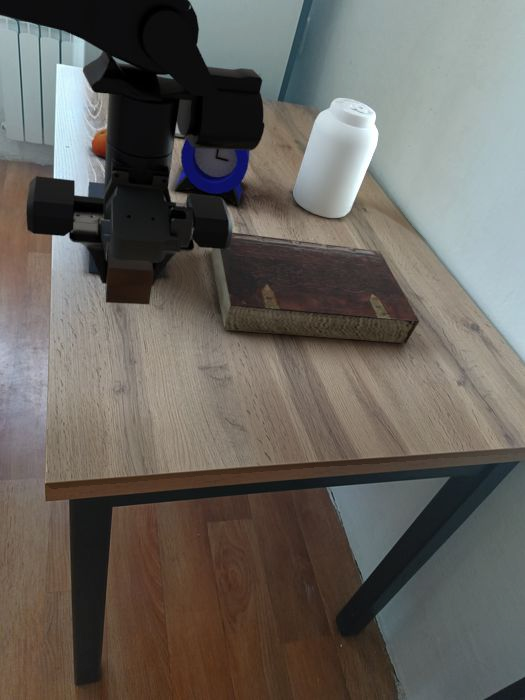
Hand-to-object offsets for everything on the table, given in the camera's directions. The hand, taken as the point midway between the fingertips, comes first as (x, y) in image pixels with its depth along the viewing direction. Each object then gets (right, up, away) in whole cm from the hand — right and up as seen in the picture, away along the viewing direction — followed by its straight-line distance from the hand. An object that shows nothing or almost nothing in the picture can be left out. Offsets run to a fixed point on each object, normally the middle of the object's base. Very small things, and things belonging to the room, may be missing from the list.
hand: (127, 282), depth 58 cm
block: (0, -1, +1) cm, 1 cm away
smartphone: (-8, +44, +63) cm, 77 cm away
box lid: (-3, +9, +14) cm, 17 cm away
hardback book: (+21, +1, +29) cm, 36 cm away
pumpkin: (-15, +31, +47) cm, 58 cm away
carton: (-7, +9, +26) cm, 28 cm away
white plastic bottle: (+26, +23, +54) cm, 64 cm away
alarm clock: (+4, +25, +47) cm, 53 cm away
